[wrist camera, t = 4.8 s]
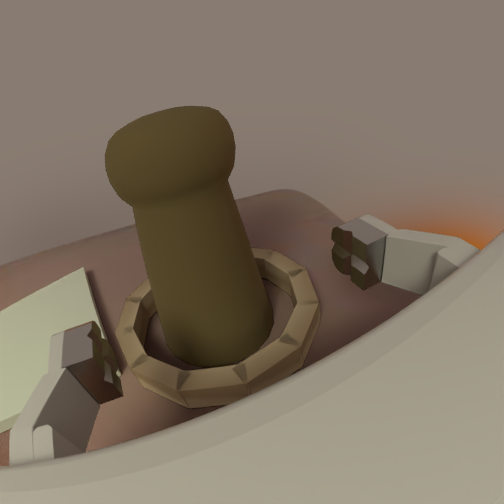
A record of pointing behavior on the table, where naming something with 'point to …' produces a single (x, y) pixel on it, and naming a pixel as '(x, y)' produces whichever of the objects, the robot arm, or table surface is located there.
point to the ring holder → (235, 376)
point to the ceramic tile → (38, 337)
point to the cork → (192, 233)
